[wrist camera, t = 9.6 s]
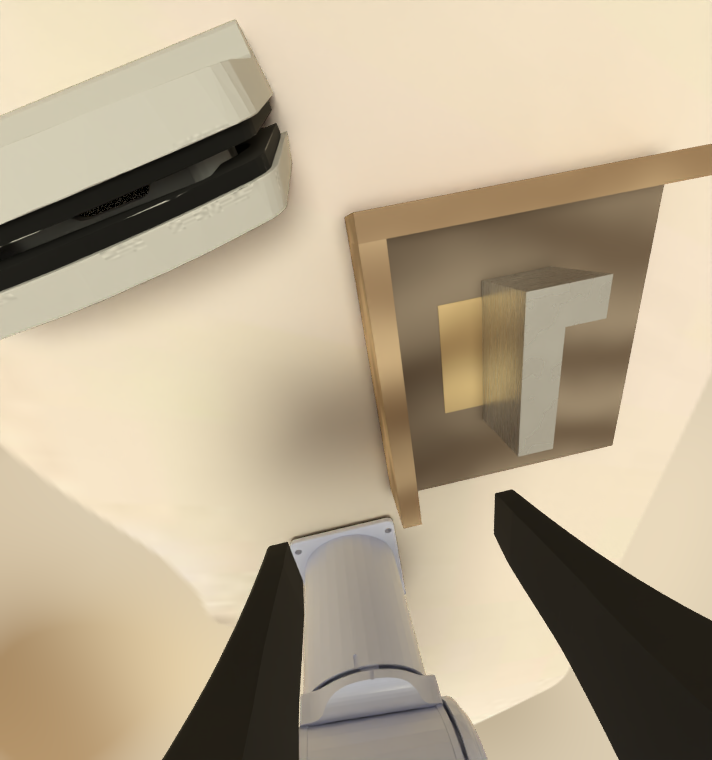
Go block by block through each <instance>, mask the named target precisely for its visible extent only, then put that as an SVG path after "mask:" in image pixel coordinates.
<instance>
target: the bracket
mask: <svg viewBox="0 0 712 760" xmlns="http://www.w3.org/2000/svg"><path fill="white" fill-rule="evenodd" d="M612 279H613V274H610V273H601V272H593V271H585V270H577V269H569V268H561V267H553V266H551V267H546V268H541V269H536V270H531V271H526V272H522V273H517V274H512V275H507V276H502V277H497V278H492V279H487V280H483V281H482V364H483V420H484V421H485V422H486V423H487V424H488V425H489V426H490V427H491V428H492V429H493V430H494V432H495V433H496V434H497V435H498V436H499V437H500V438H501V439H502V440H503V441H504V442H505V443H506V444H507V445H508V446H509V447H510V448H511V449H512V451H513V452H514V453H515V454H516V455H517V456H518V457H519V456H524V455H528V454H532V453H537V452H541V451H545V450H550V449H553V443H554V433H555V424H556V414H557V404H558V395H559V385H560V375H561V366H562V356H563V346H564V337H565V327H568V326H573V325H577V324H582V323H587V322H591V321H596V320H601V319H605V318H606V317H607V311H608V304H609V298H610V292H611V285H612Z"/></svg>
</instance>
